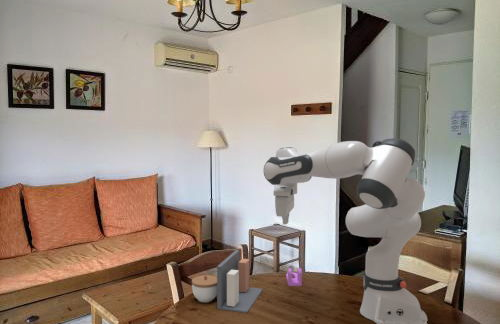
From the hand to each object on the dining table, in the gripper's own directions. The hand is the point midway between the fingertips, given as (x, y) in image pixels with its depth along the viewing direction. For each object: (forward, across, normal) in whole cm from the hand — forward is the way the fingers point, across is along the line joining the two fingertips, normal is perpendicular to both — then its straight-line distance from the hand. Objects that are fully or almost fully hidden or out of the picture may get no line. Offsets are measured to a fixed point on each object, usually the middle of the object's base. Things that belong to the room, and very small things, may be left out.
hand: (285, 223), depth 157 cm
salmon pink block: (+29, +1, -17) cm, 34 cm away
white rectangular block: (+29, +15, -17) cm, 37 cm away
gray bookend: (+29, +8, -16) cm, 34 cm away
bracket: (+30, -18, 0) cm, 35 cm away
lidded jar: (+29, +12, -29) cm, 43 cm away
